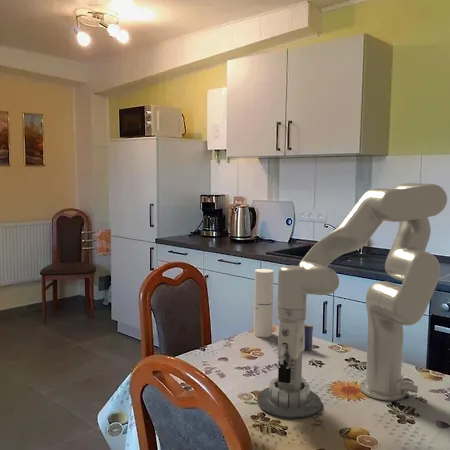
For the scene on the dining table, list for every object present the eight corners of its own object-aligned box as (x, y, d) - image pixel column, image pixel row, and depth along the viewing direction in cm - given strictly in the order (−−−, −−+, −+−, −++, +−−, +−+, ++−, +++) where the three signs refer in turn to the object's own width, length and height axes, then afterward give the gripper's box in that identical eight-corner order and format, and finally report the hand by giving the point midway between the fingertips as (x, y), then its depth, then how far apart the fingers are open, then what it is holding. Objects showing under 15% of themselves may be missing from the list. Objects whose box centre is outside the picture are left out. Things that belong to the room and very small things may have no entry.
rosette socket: (327, 396, 134) (328, 378, 133) (312, 424, 118) (312, 404, 118) (269, 385, 141) (269, 367, 140) (247, 410, 125) (248, 391, 125)
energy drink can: (305, 399, 129) (307, 345, 128) (290, 406, 125) (292, 350, 124) (288, 391, 134) (289, 339, 132) (273, 397, 130) (274, 344, 128)
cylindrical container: (266, 338, 182) (268, 273, 179) (250, 335, 185) (251, 271, 183) (275, 333, 188) (276, 270, 185) (258, 330, 191) (260, 268, 189)
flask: (313, 349, 171) (314, 320, 169) (309, 352, 168) (310, 322, 167) (290, 343, 176) (291, 315, 175) (286, 346, 174) (287, 317, 173)
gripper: (296, 323, 118) (294, 390, 119) (313, 306, 133) (311, 366, 135) (267, 319, 121) (265, 385, 122) (287, 303, 136) (285, 361, 138)
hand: (289, 375), depth 129 cm, fingers open, 9 cm apart
